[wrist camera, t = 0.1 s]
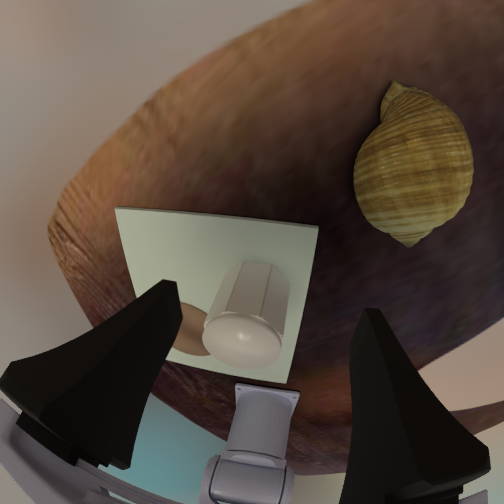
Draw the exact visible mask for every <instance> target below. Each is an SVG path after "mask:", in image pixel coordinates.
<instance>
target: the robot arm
mask: <svg viewBox="0 0 504 504" xmlns="http://www.w3.org/2000/svg"><path fill="white" fill-rule="evenodd" d="M182 320H183V314H182V309H181V304H180V298H179V293H178V287H177V281H171V280H166V279H162V280H161V281H159V282H158V283H156V284H155V285H154V286H152V287H151V288H150V289H149V290H147V291H146V292H145V293H143V294H142V295H141V296H139V297H138V298H137V299H135V300H134V301H133V302H131V303H130V304H129V305H127V306H126V307H125V308H123V309H122V310H120V311H119V312H118V313H116V314H115V315H113V316H112V317H110V318H109V319H107V320H106V321H104V322H103V323H101V324H100V325H98V326H97V327H95V328H93V329H92V330H90V331H88V332H86V333H85V334H83V335H81V336H79V337H77V338H76V339H73V340H71V341H69V342H67V343H65V344H63V345H61V346H59V347H56V348H54V349H51V350H49V351H46V352H43V353H41V354H38V355H35V356H32V357H28V358H24V359H21V360H17V361H12V362H11V363H10V364H9V366H8V367H7V369H6V370H5V372H4V374H3V375H2V376H1V378H0V390H1V391H2V392H3V393H4V394H5V395H6V396H7V397H8V398H9V399H10V400H11V401H12V402H14V403H15V404H16V405H17V406H18V407H19V408H20V409H21V410H22V413H21V415H20V414H18V413H17V412H16V411H15V410H14V409H13V408H12V407H10V406H9V405H8V404H7V403H6V402H5V401H4V400H3V399H0V464H1V465H2V466H3V467H4V469H5V470H6V471H7V472H8V474H9V475H10V476H11V478H12V479H13V480H14V481H15V482H16V484H17V485H18V486H19V487H20V488H21V489H22V490H23V492H24V493H25V494H26V495H27V496H28V497H29V498H30V499H31V500H32V501H33V502H34V503H35V504H130V503H127V502H125V501H122V500H120V499H117V498H114V497H112V496H110V495H109V492H108V490H109V491H111V492H113V493H115V494H117V495H119V496H121V497H123V498H125V499H128V500H130V501H132V502H134V503H137V504H181V503H179V502H175V501H173V500H170V499H166V498H163V497H161V496H158V495H156V494H153V493H150V492H148V491H145V490H143V489H140V488H138V487H136V486H133V485H131V484H129V483H126V482H124V481H122V480H120V479H118V478H116V477H114V476H112V475H109V474H107V473H106V472H104V471H102V470H100V469H98V465H99V464H101V465H103V466H105V467H108V465H109V464H111V465H113V466H115V467H117V468H119V469H121V470H125V469H128V468H130V465H131V459H132V454H133V449H134V443H135V440H136V435H137V432H138V428H139V424H140V421H141V418H142V414H143V411H144V408H145V405H146V402H147V399H148V396H149V394H150V391H151V388H152V386H153V384H154V382H155V380H156V378H157V376H158V374H159V372H160V370H161V368H162V366H163V364H164V362H165V360H166V358H167V356H168V354H169V352H170V350H171V348H172V346H173V344H174V342H175V340H176V337H177V334H178V332H179V329H180V326H181V323H182ZM349 367H350V382H351V398H352V434H351V444H350V451H349V458H348V465H347V470H346V476H345V480H344V485H343V489H342V493H341V497H340V501H339V504H488V496H487V490H483V491H481V492H479V493H476V494H473V495H471V496H468V497H466V498H463V499H460V500H459V494H462V493H463V485H464V484H467V483H469V482H471V481H473V480H475V479H477V478H479V477H481V476H483V475H485V474H487V473H488V472H489V471H490V469H491V465H490V456H489V449H488V447H487V446H486V445H484V444H483V443H482V442H481V441H480V440H478V439H477V438H476V437H475V436H473V435H472V434H471V433H470V432H469V431H468V430H467V429H466V428H465V427H464V426H462V425H461V424H460V423H459V422H458V421H457V420H456V419H455V418H454V417H453V416H452V414H451V413H450V412H449V411H448V410H447V409H446V408H445V407H444V405H443V404H442V403H441V402H440V401H439V400H438V398H437V397H436V396H435V395H434V393H433V392H432V391H431V390H430V388H429V387H428V386H427V384H426V383H425V382H424V380H423V379H422V377H421V376H420V375H419V373H418V371H417V370H416V368H415V367H414V365H413V364H412V362H411V361H410V359H409V358H408V356H407V354H406V353H405V351H404V349H403V348H402V346H401V345H400V343H399V341H398V339H397V338H396V336H395V334H394V333H393V331H392V329H391V327H390V326H389V324H388V322H387V321H386V319H385V317H384V316H383V314H382V312H381V311H380V309H372V308H364V311H363V313H362V316H361V318H360V321H359V323H358V326H357V328H356V331H355V333H354V335H353V338H352V340H351V342H350V364H349ZM235 393H236V411H235V414H234V418H233V422H232V426H231V430H230V433H229V437H228V441H227V444H226V448H225V450H222V452H221V455H215V456H213V457H212V458H210V459H209V461H208V463H207V465H206V468H205V471H204V474H203V478H202V482H201V493H200V497H199V501H198V503H199V504H219V503H218V502H217V501H222V502H226V503H231V504H289V502H290V499H291V495H292V491H293V486H294V471H293V470H292V469H291V467H290V466H286V460H284V459H285V453H286V447H287V440H288V434H289V427H290V420H291V416H292V414H293V411H294V409H295V406H296V404H297V401H298V398H299V396H300V393H299V392H296V391H288V390H280V389H273V388H266V387H259V386H253V385H247V384H242V383H236V385H235ZM216 500H217V501H216Z"/></svg>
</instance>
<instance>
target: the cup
mask: <svg viewBox="0 0 504 504" xmlns="http://www.w3.org/2000/svg"><path fill="white" fill-rule="evenodd" d="M289 291H290V282H289V281H288V280H287V279H286V278H285V277H284V276H283V275H282V274H281V273H280V272H279V271H278V270H277V269H276V268H275V267H274V266H273V265H272V266H271V264H266V263H258V262H251V261H245V262H244V261H243V262H241V263H240V264H238V265H237V266H235V267H234V268H233V269H231V270H230V271H228V272H227V273H225V275H224V278H223V280H222V282H221V285H220V287H219V289H218V292H217V294H216V296H215V298H214V301H213V303H212V305H211V308H210V310H209V312H208V315H207V317H206V319H205V322H204V332H203V335H202V341H203V344H204V346H205V348H206V349H207V351H208V352H209V353H210V354H211V355H212V356H213V357H215V358H216V359H218V360H219V361H221V362H223V363H225V364H227V365H230V366H233V367H236V368H241V369H261V368H265V367H268V366H270V365H272V364H274V363H275V362H276V361H277V360H278V358H279V357H280V353H281V347H282V341H283V335H284V328H285V321H286V314H287V306H288V299H289Z"/></svg>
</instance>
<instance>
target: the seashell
mask: <svg viewBox="0 0 504 504" xmlns="http://www.w3.org/2000/svg"><path fill="white" fill-rule="evenodd" d="M396 81H397V80H396ZM396 81H392V84H391V86H390V87H389V89H388V91H387V92H386V94H385V96H384V98H383V99H382V103H381V114H380V119H381V124H380V125H379V126H378V127H377V128H376V129H375V130H374V131H373V132H372V133H371V134H370V135H369V136H368V137H367V138H366V140H365V142H364V143H363V144H362V146H361V148H360V150H359V152H358V154H357V157H356V160H355V165H354V173H353V175H354V181H353V182H354V190H355V193H356V199H357V200H358V205H359V207H360V208H361V211H362V213H363V215H364V216H365V217H366V219H367V221H368V222H370V223H371V224H372V225H373V227H375V228H377V229H379V230H381V231H383V232H388V233H390V235H391V236H392V237H393V238H394V239H396V240H398V241H400V242H401V243H403V244H404V245H405V246H406V247H408V248H410V247H412V246H413V245H414V244H415V243H417V242H418V241H419V240H420V239H421V238H423V237H425V236H426V235H428V234H429V233H430V232H431V231H432V230H433V229H434V227H438V226H440V225H442V224H444V223H445V222H446V221H447V220H449V219H451V218H453V217H454V216H455V215H456V214H457V212H458V210H459V209H460V208H462V207H463V205H464V204H465V200H466V198H467V196H468V195H469V193H470V186H471V184H472V175H473V173H474V168H473V161H474V159H473V156H472V149H471V146H470V142H469V139H468V137H467V134H466V131H465V129H464V127H463V124H462V123H461V122H460V120H459V118H458V116H457V115H456V114H455V113H453V112H452V110H451V109H450V108H448V107H447V106H446V105H445V104H444V103H443V102H441V101H439V100H438V99H437V98H435V97H433V96H432V95H431V94H429V93H428V92H425V91H423V90H419V89H417V88H415V87H406V86H404V85H403V84H402V83H401V82H396Z"/></svg>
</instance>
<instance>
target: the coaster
mask: <svg viewBox="0 0 504 504" xmlns="http://www.w3.org/2000/svg"><path fill="white" fill-rule="evenodd" d="M180 304H181V309H182V314H183V320H182V323H181V326H180V329H179V332H178V334H177V337H176V340H175V342H174V344H173V346H172V347H173V348H174V349H176V350H178V351H181V352H183V353H186V354H190V355H194V356H208V355H211V354H210V353H209V352H208V351H207V349H206V348H205V346H204V344H203V341H202V335H203V332H204V322H205V319H206V317H207V315H208V314H207V313H206V312H204V311H202V310H201V309H199V308H197V307H195V306H193V305H190V304H187V303H183V302H180Z"/></svg>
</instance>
